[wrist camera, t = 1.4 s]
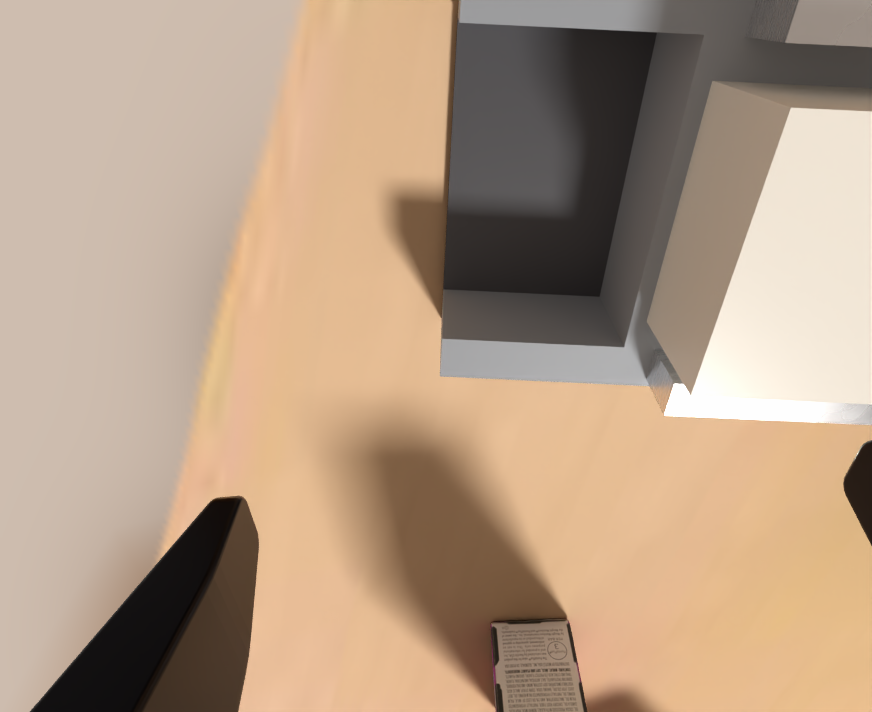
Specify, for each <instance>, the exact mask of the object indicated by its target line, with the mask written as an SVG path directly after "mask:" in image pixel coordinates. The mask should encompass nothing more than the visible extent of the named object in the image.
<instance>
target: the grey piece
mask: <svg viewBox="0 0 872 712" xmlns="http://www.w3.org/2000/svg"><path fill="white" fill-rule="evenodd" d="M754 4H755V0H459V4H458V23H457V42H456V61H455V79H454V98H453V117H452V136H451V155H450V173H449V192H448V211H447V230H446V248H445V267H444V286H443V305H442V327H441V361H440V376H444V377H465V378H486V379H508V380H529V381H550V382H572V383H593V384H614V385H636V386H649V384H648V382H647V380H646V376H647V373H648V369H649V366H650V362H651V359H652V356H653V352H654V349H663V348H662V347H661V345H660V343H659V342H658V340H657V338H656V337H655V335H654V333H653V332H652V330H651V328H650V326H649V325H648V323H647V318H648V314H649V311H650V307H651V303H652V300H653V296H654V292H655V289H656V285H657V281H658V278H659V274H660V270H661V267H662V263H663V260H664V256H665V252H666V249H667V245H668V241H669V238H670V234H671V230H672V227H673V223H674V219H675V216H676V212H677V208H678V205H679V201H680V197H681V194H682V190H683V186H684V183H685V179H686V175H687V172H688V168H689V164H690V161H691V157H692V153H693V150H694V146H695V142H696V139H697V135H698V131H699V128H700V124H701V120H702V117H703V113H704V109H705V106H706V102H707V98H708V95H709V91H710V87H711V84H712V81H730V82H751V83H771V84H792V85H812V86H833V87H854V88H872V47H859V46H838V45H818V44H797V43H783V42H776V41H770V40H763V39H757V38H750V37H745V35H746V32H747V28H748V25H749V21H750V18H751V14H752V11H753V7H754Z"/></svg>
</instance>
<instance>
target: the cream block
mask: <svg viewBox="0 0 872 712" xmlns="http://www.w3.org/2000/svg"><path fill="white" fill-rule="evenodd" d="M647 323H648V325H649V326H650V328H651V330H652V332H653V333H654V335H655V337H656V338H657V340H658V342H659V343H660V345H661V347H662V348H663V350H664V352H665V354H666V355H667V357H668V359H669V360H670V362H671V364H672V365H673V367H674V369H675V370H676V372H677V374H678V376H679V377H680V379H681V381H682V382H683V384H684V386H685V387H686V389H687V391H688V392H689V394H690V396H700V397H722V398H743V399H764V400H786V401H807V402H828V403H850V404H871V405H872V88H854V87H833V86H812V85H792V84H771V83H751V82H730V81H712V84H711V87H710V91H709V95H708V98H707V102H706V106H705V109H704V113H703V117H702V120H701V124H700V128H699V131H698V135H697V139H696V142H695V146H694V150H693V153H692V157H691V161H690V164H689V168H688V172H687V175H686V179H685V183H684V186H683V190H682V194H681V197H680V201H679V205H678V208H677V212H676V216H675V219H674V223H673V227H672V230H671V234H670V238H669V241H668V245H667V249H666V252H665V256H664V260H663V263H662V267H661V270H660V274H659V278H658V281H657V285H656V289H655V292H654V296H653V300H652V303H651V307H650V311H649V314H648V318H647Z"/></svg>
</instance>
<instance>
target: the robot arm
mask: <svg viewBox="0 0 872 712" xmlns="http://www.w3.org/2000/svg"><path fill="white" fill-rule="evenodd" d="M843 485H844V491H845V494H846V497H847V499H848V500H849V502H850V504H851V506H852V508H853V510H854V512H855V514H856V516H857V518H858V520H859V522H860V524H861V526H862V528H863V530H864V532H865V534H866V536H867V538H868V540H869V541H870V543H871V545H872V440H871V441H867V442H866V443H864V444H863V445H862V446H861V448H860V450H859V451H858V453H857V455H856V457H855V459H854V461H853V462H852V464H851V466H850V468H849V470H848V472H847V473H846V475H845V477H844V482H843ZM258 550H259V539H258V533H257V529H256V526H255V524H254V521H253V518H252V515H251V512H250V509H249V507H248V504H247V501H246V500H245V498H244V497H242V496H231V497H220V498H215V499H213V500H212V501H211V502H210V503H209V504H208V505H207V506H206V507H205V508H204V509H203V511H202V512H201V513H200V514H199V515H198V516H197V518H196V519H195V520H194V521H193V522H192V523H191V525H190V526H189V527H188V528H187V529H186V530H185V532H184V533H183V534H182V535H181V536H180V537H179V539H178V540H177V541H176V542H175V543H174V544H173V546H172V547H171V548H170V549H169V550H168V551H167V553H166V554H165V555H164V556H163V557H162V558H161V560H160V561H159V562H158V563H157V564H156V565H155V567H154V568H153V569H152V570H151V571H150V572H149V574H148V575H147V576H146V577H145V578H144V579H143V581H142V582H141V583H140V584H139V585H138V586H137V588H136V589H135V590H134V591H133V592H132V593H131V594H130V596H129V597H128V598H127V599H126V600H125V601H124V603H123V604H122V605H121V606H120V607H119V608H118V610H117V611H116V612H115V613H114V614H113V615H112V617H111V618H110V619H109V620H108V621H107V623H106V624H105V625H104V626H103V627H102V628H101V629H100V631H99V632H98V633H97V634H96V635H95V636H94V638H93V639H92V640H91V641H90V642H89V643H88V645H87V646H86V647H85V648H84V649H83V650H82V652H81V653H80V654H79V655H78V656H77V658H76V659H75V660H74V661H73V662H72V663H71V665H70V666H69V667H68V668H67V669H66V670H65V671H64V673H63V674H62V675H61V676H60V677H59V678H58V680H57V681H56V682H55V683H54V684H53V685H52V687H51V688H50V689H49V690H48V691H47V692H46V694H45V695H44V696H43V697H42V698H41V700H40V701H39V702H38V703H37V704H36V705H35V706H34V708H33V709H32V710H31V711H30V712H238V710H239V705H240V700H241V695H242V690H243V685H244V680H245V675H246V669H247V663H248V658H249V650H250V641H251V630H252V619H253V607H254V596H255V585H256V573H257V562H258Z"/></svg>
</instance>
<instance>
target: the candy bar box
mask: <svg viewBox="0 0 872 712" xmlns="http://www.w3.org/2000/svg"><path fill="white" fill-rule="evenodd" d="M491 643H492V661H493V678H494V693H495V708H496V712H587V708H586V703H585V698H584V692H583V687H582V682H581V678H580V673H579V668H578V663H577V658H576V653H575V647H574V642H573V637H572V632H571V627H570V623H569V621H568V620H566V619H541V620H528V621H507V622H493V623H491Z"/></svg>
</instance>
